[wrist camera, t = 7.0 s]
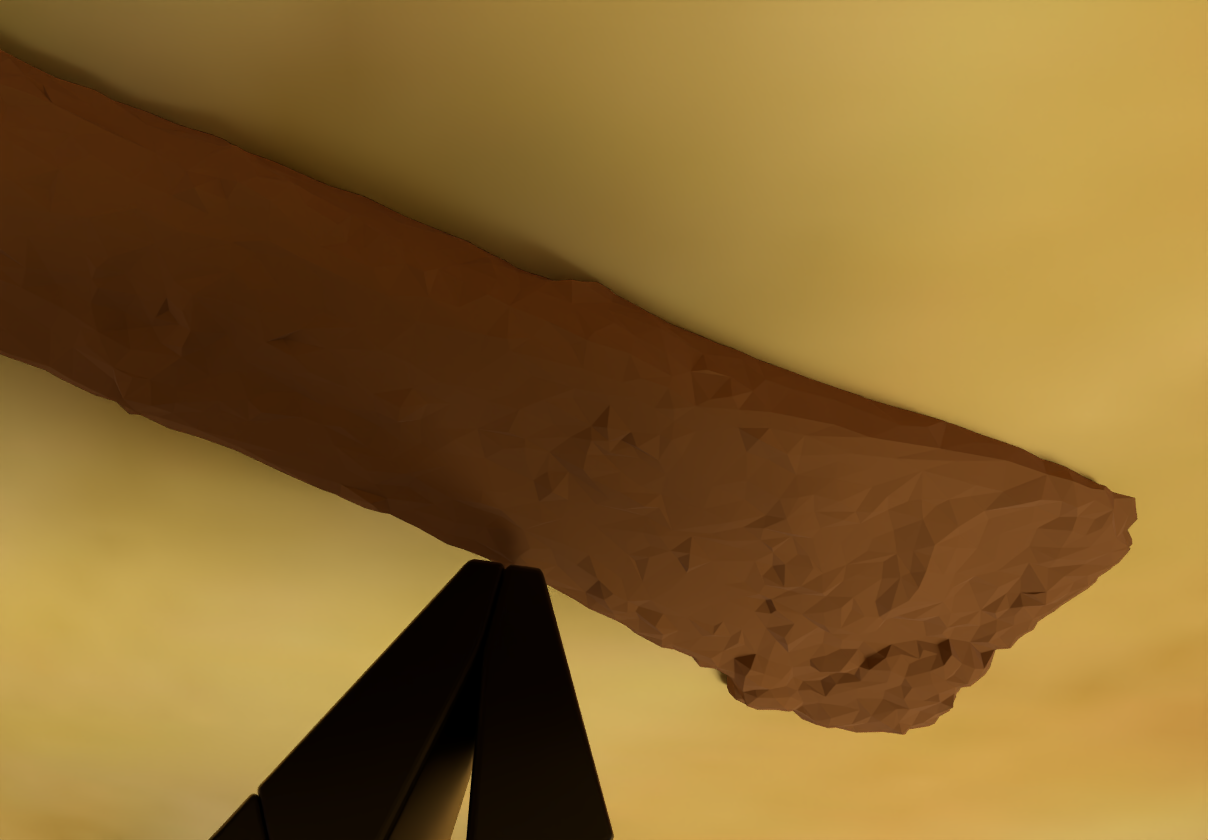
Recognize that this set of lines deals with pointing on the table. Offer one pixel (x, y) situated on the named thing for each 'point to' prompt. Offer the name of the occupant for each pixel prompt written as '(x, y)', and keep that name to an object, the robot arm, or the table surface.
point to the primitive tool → (533, 417)
